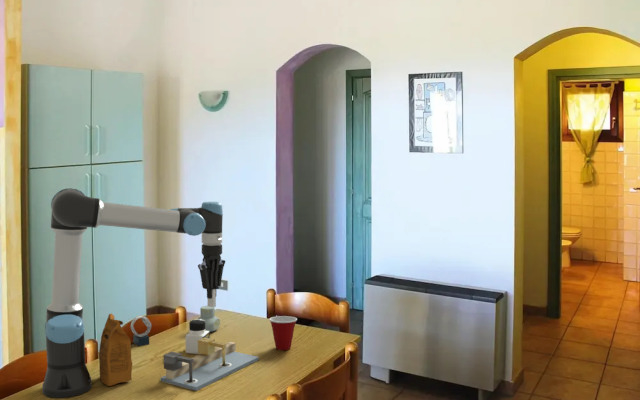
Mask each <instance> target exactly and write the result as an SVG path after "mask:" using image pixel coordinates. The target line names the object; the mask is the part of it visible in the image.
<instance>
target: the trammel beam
mask: <svg viewBox="0 0 640 400" xmlns="http://www.w3.org/2000/svg"><path fill="white" fill-rule="evenodd" d="M236 343H237V342H232V341H229V342H228V341H227V342H225V344H226V348H225V355H227V354H229V353H232V352H237V349H236V348H237V347H236ZM220 357H222V348H219V347H215V353H212V354H210V355H203V354H197V355H195V356H193V357H188V356H184V355H183V354H182V353H180V352H176V351H169V352H167V353H165V354H163V369H164V370H165V375H166V378H169V379H174V378H176V377H178V376H181V375H183V374H185V373H187V372H189V381H190V382H192V381H193V380H192V370H194V369H196V368H198V367H201V366H203V365H205V364H207V363H209V362H212V361H214V360H216V359H218V358H220Z"/></svg>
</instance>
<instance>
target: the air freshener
mask: <svg viewBox="0 0 640 400" xmlns="http://www.w3.org/2000/svg"><path fill="white" fill-rule="evenodd" d="M199 310H200V316H199V317H198V318H197V319H202V320H204V321H205V331H209V333H211V332H212V333H213V332H215V331H216V330H218V329H219V327H220V325H221V319H220V318H219V317H218V316H216V312H215V307H209V306H207V305H203V306H201V307H200V309H199Z"/></svg>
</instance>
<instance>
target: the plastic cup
mask: <svg viewBox="0 0 640 400" xmlns="http://www.w3.org/2000/svg"><path fill="white" fill-rule="evenodd" d="M297 321H298V318H297V317H295V316H289V315H288V316H287V315H281V316H280V315H277V316H272V317H270V318H269V322H270V325H271V328H272V329H271V330H272V335H273V340H274V346H275V349H276V350H278V351H288V350H291V348H292V341H293V338H294V331H295V327H296V322H297Z"/></svg>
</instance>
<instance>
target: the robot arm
mask: <svg viewBox="0 0 640 400" xmlns="http://www.w3.org/2000/svg"><path fill="white" fill-rule="evenodd" d="M50 208H51V218H50V230H52V231H53V232H54V235H55V236H54V253H53V255H54V256H53V257H54V258H53V272H52V275H53V276H52V291H51V292H52V294H51V296H52V297H51V303H49V304H48V305H47V306H46V318H45V323H44V333H45V341H46V342H45V345H46V363H47V365H46V367H47V368H46V372H45V376H44V381H43V383H42V386H41V388H42V394H43V395H44V396H46V397H47V398H49V397H50V398H59V399H60V398H61V399H62V398H63V399H65V398H70V397H76V396H80V395H82V394H84V393H86V392H88V391H90V390H91V389H92V387H93V385H92V376H91V374H90V372H89V370H88V367H87V365H86V351H85V350H86V349H85V346H86V345H85V323H84V320H83V314H84V313H83V311H84V306H83V304H81V303H80V301H79V299H80V283H81V281H80V279H81V263H82V244H83V234H84V233H85V232H86V231H87V230H88V228H94V229H96V228H98V227H99V226H106V227H115V228H127V229H135V230H136V229H138V230H139V229H140V230H148V231H157V232H169V233H179V234H187V235H189V236H192V237H193V236H199V235H201V243H202V245H201V255H202V256H203V258H202V262H201V264H200V263H199V264H198V265H197V268H198V270H199V274H200V279H201V281H200V282H201V286H202V289H203V290H204V289H205V290H206V298H207V305H206V306H209V307H214V308H215V307H216V305H217V304H216V303H217V302H216V300H217V298H216V297H217V290H220V287H221V284H222V277H223V272H224V267H225V264H226V259H222V257H221V255H222V254H223V245H222V244H223V218H224V217H223V215H224V214H223V204H222V203H221V202H219V201H204V202H202V203H201V207H182V208H180V207H177V208H171V209H167V208H157V207H148V206H140V205H131V204H123V203H122V204H120V203H113V202H106V201H102V200H101V199H100V198H96V197H90V196H87V195H85V193H84V192H82V191H81V190H80V189H77V188H71V187H70V188H67V187H66V188H64V189H61V190H59V191H58V192H56V193H55V194H54V195H53V197H52V199H51V202H50Z"/></svg>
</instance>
